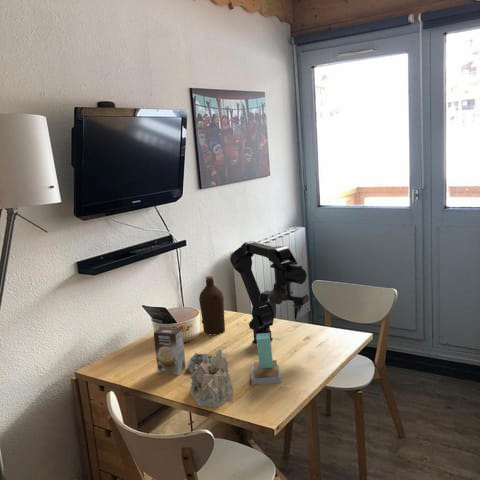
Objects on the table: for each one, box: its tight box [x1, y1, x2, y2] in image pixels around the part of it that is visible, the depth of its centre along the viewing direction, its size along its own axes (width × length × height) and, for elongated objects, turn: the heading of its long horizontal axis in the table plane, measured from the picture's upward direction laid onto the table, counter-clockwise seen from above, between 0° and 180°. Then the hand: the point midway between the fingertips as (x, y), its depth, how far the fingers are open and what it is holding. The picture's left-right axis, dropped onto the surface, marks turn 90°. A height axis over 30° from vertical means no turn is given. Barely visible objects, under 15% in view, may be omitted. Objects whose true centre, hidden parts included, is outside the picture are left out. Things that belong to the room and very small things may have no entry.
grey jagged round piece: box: [189, 348, 234, 408], centre depth 174 cm, size 16×16×15 cm
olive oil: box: [198, 275, 226, 336], centre depth 231 cm, size 11×11×25 cm
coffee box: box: [153, 326, 187, 376], centre depth 195 cm, size 9×6×16 cm
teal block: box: [256, 333, 274, 369], centre depth 182 cm, size 4×4×11 cm
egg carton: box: [186, 352, 213, 374], centre depth 198 cm, size 11×8×4 cm
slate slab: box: [250, 364, 282, 386], centre depth 185 cm, size 10×10×2 cm
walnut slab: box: [253, 359, 278, 378], centre depth 184 cm, size 8×8×2 cm
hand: (285, 318), depth 204 cm, fingers open, 9 cm apart
